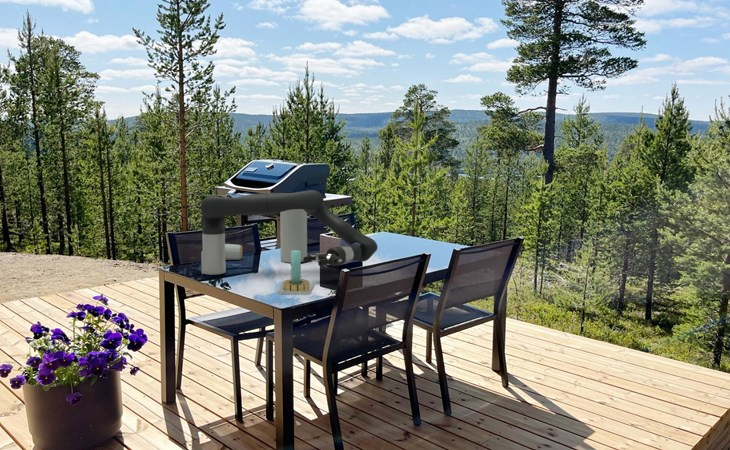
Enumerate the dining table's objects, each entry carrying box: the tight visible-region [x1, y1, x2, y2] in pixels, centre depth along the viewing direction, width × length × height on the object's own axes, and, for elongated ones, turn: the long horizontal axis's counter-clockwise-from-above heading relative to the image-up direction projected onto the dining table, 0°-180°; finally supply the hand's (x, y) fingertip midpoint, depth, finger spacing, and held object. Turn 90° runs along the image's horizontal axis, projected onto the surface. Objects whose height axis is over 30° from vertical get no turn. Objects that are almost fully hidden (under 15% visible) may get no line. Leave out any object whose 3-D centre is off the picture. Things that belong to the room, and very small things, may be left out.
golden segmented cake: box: [276, 278, 315, 296], centre depth 208 cm, size 12×13×3 cm
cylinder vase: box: [279, 209, 308, 264], centre depth 259 cm, size 12×12×25 cm
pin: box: [290, 250, 302, 284], centre depth 207 cm, size 4×4×14 cm
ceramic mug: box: [225, 243, 243, 261], centre depth 262 cm, size 11×8×8 cm
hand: (311, 261), depth 213 cm, fingers open, 8 cm apart
